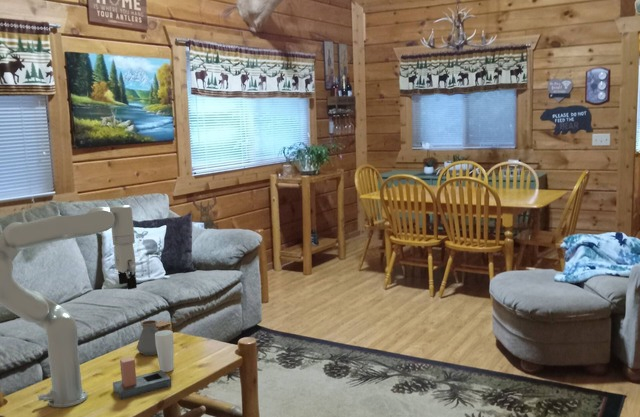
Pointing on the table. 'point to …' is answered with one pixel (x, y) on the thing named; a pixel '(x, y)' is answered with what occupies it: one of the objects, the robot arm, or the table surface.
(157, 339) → the drinking glass
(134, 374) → the square peg
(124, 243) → the robot arm
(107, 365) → the table surface
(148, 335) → the coffee pot
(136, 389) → the square hole plate
